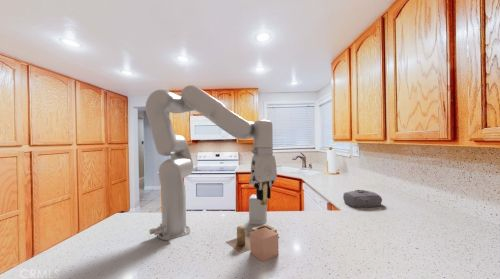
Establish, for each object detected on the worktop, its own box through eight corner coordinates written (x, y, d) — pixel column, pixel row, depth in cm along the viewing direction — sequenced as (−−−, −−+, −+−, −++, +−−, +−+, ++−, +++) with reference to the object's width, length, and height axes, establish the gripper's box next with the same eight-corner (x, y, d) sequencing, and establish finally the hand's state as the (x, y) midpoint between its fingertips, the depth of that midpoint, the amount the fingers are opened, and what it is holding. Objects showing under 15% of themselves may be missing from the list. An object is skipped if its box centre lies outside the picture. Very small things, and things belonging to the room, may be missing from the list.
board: (241, 256, 70) (240, 235, 70) (225, 245, 78) (225, 225, 78) (279, 240, 81) (279, 221, 81) (262, 231, 89) (262, 214, 89)
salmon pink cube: (263, 265, 66) (262, 239, 65) (250, 256, 71) (250, 232, 71) (278, 258, 69) (278, 233, 69) (265, 249, 75) (264, 227, 75)
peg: (263, 205, 81) (262, 182, 81) (257, 203, 83) (257, 180, 83) (269, 204, 83) (269, 181, 83) (264, 202, 85) (263, 179, 85)
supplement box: (265, 227, 94) (264, 198, 94) (248, 226, 95) (248, 198, 95) (267, 220, 101) (266, 194, 101) (251, 220, 102) (251, 193, 102)
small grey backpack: (354, 209, 115) (389, 208, 116) (354, 194, 115) (388, 192, 116) (340, 201, 130) (371, 200, 131) (340, 188, 130) (370, 186, 131)
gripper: (252, 153, 75) (252, 205, 75) (284, 151, 85) (285, 197, 85) (240, 152, 81) (240, 200, 81) (272, 150, 91) (272, 193, 91)
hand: (263, 198), depth 83 cm, fingers closed on peg, 3 cm apart
